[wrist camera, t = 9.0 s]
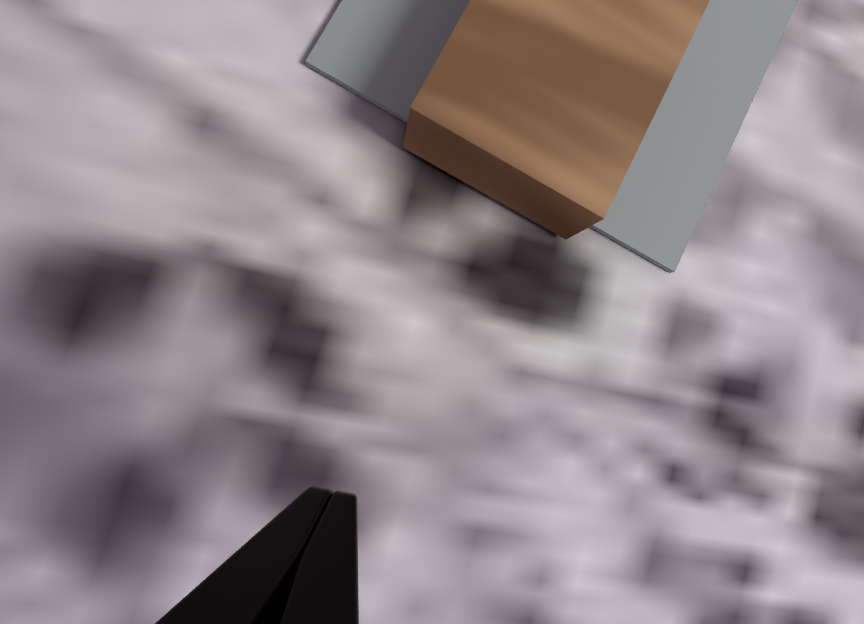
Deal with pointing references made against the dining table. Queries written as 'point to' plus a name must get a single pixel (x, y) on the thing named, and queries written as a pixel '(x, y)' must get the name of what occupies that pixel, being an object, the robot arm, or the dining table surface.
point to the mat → (665, 137)
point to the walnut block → (549, 100)
